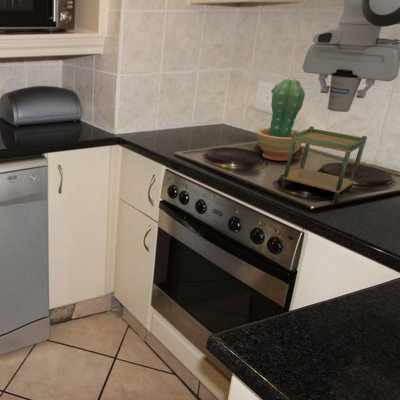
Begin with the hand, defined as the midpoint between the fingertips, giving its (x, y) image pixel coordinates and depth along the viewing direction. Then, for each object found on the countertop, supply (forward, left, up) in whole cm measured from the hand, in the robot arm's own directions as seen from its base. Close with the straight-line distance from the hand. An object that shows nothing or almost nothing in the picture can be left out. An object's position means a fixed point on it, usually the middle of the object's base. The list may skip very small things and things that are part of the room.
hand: (341, 95), depth 119 cm
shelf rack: (+1, -2, -26) cm, 26 cm away
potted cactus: (+21, -24, -26) cm, 41 cm away
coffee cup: (0, 0, -4) cm, 4 cm away
